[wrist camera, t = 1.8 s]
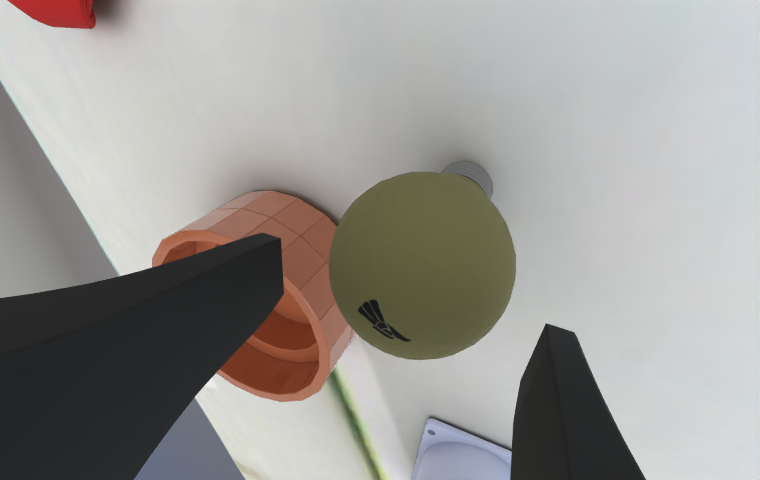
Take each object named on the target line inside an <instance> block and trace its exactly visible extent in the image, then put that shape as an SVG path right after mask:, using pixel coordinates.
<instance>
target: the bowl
mask: <svg viewBox="0 0 760 480" xmlns="http://www.w3.org/2000/svg"><path fill="white" fill-rule="evenodd" d="M336 228H337V226H336V225H335V224H334V223H333V222H332V221H331V220H330V219H329V218H328V217H327V215H325V214H324V213H322V212H321V211H319V210H317V209H316V208H314V207H312V206H311V205H309V204H308V203H306V202H304V201H303V200H301V199H299V198H297V197H293V196H290V195H286V194H283V193H279V192H276V191H257V192H247V193H244V194H242V195H241V196H239V197H237V198H235V199H233V200H232V201H230V202H228V203H226V204H224V205H223V206H221V207H219V208H217V209H216V210H214V211H212V212H210V213H209V214H207V215H205V216H203V217H202V218H200V219H198V220H196V221H195V222H193V223H191V224H189V225H188V226H186V227H184V228H182V229H181V230H179V231H177V232H175V233H174V234H172V235H170V236H168V237H167V238H165V239H163V240H162V241H161V243H160V245H159V247H158V248H157V250H156V252H155V254H154V256H153V259H152V267H156V266H159V265H162V264H165V263H169V262H172V261H175V260H179V259H182V258H185V257H188V256H191V255H194V254H197V253H200V252H203V251H206V250H209V249H212V248H215V247H218V246H221V245H224V244H227V243H230V242H233V241H236V240H239V239H242V238H245V237H248V236H251V235H255V234H259V233H266V234H269V235H273V236H276V237H279V238H281V249H282V265H283V282H284V295H283V296H282V298H281V299H280V301H279V302H278V303H277V305H276V306H275V308H274V309H273V311H272V312H271V313H270V315H269V316H268V317H267V319H266V320H265V321H264V322H263V324H262V325H261V326H260V327H259V328H258V329H257V330H256V331H255V332H254V333H253V334H252V336H251V337H250V338H249V339H248V340H247V341H246V342H245V343H244V344H243V345H242V346H241V347H240V348H239V349H238V350H237V351H236V352H235V354H234V355H233V356H232V357H231V358H230V359H229V360H228V361H227V362H226V363H225V364H224V365H223V366H222V367H221V368H220V369H219V370H218V371H217V372H216V373H217V374H218V375H220V376H221V377H223V378H224V379H226V380H227V381H229V382H230V383H231V384H233V385H235V386H236V387H239V388H241V389H243V390H245V391H247V392H249V393H252V394H254V395H256V396H259V397H262V398H267V399H271V400H275V401H280V402H287V401H302V400H304V399H306V398H308V397H310V396H312V395H313V394H315V393H317V392H319V391H320V390H321V388H322V387H323V385H324V384H325V382H326V380H327V379H328V377H329V376H330V374H331V373H332V371H333V370H334V368H335V366H336V365H337V363H338V362H339V360H340V359H341V357H342V356H343V354H344V352H345V351H346V349H347V348H348V346H349V345H350V343H351V342H352V340H353V338H354V337H355V335H356V334H357V333H356V332H355V331H354V330H353V329H352V328H351V327H350V325H349V324H348V323H347V322H346V320H345V319H344V317H343V315H342V314H341V312H340V310H339V308H338V306H337V303H336V301H335V298H334V296H333V293H332V290H331V285H330V279H329V252H330V248H331V244H332V240H333V237H334V233H335V230H336Z"/></svg>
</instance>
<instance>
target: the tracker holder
mask: <svg viewBox="0 0 760 480" xmlns="http://www.w3.org/2000/svg"><path fill="white" fill-rule="evenodd" d="M8 1H9V2H10V3H12V4H13V5H14V6H16V7H17V8H19V9H20V10H21V11H23V12H24V13H26V14H27V15H28V16H30V17H31V18H33V19H35V20H37V21H39V22H41V23H43V24H46V25H49V26H52V27H64V28H85V29H87V28H89V29H91V28H94V26H95V23H96V18H95V15H94V12H93V9H92V5H93V0H8Z"/></svg>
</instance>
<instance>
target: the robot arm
mask: <svg viewBox="0 0 760 480" xmlns="http://www.w3.org/2000/svg"><path fill="white" fill-rule="evenodd" d="M283 295H284V282H283V265H282V249H281V238H279V237H276V236H273V235H269V234H266V233H259V234H255V235H251V236H248V237H245V238H242V239H239V240H236V241H233V242H230V243H227V244H224V245H221V246H218V247H215V248H212V249H209V250H206V251H203V252H200V253H197V254H194V255H191V256H188V257H185V258H182V259H179V260H175V261H172V262H169V263H165V264H162V265H159V266H156V267H152V268H149V269H146V270H142V271H139V272H135V273H131V274H127V275H124V276H120V277H115V278H111V279H107V280H102V281H98V282H94V283H89V284H84V285H79V286H73V287H68V288H62V289H56V290H51V291H45V292H40V293H34V294H27V295H20V296H13V297H6V298H0V480H133V479H134V478H135V477H136V475H137V474H138V472H139V471H140V470H141V468H142V467H143V465H144V464H145V462H146V461H147V459H148V458H149V456H150V455H151V454H152V453H153V451H154V450H155V448H156V447H157V446H158V444H159V443H160V442H161V440H162V439H163V438H164V436H165V435H166V434H167V432H168V431H169V429H170V428H171V427H172V425H173V424H174V423H175V421H176V420H177V419H178V418H179V416H180V415H181V414H182V412H183V411H184V410H185V409H186V407H187V406H188V405H189V404H190V402H191V401H192V400H193V398H194V397H195V396H196V395H197V393H198V392H199V391H200V390H201V389H202V388H203V387H204V385H205V384H206V383H207V382H208V381H209V380H210V379H211V378H212V377H213V376H214V375H215V373H216V372H217V371H218V370H219V369H220V368H221V367H222V366H223V365H224V364H225V363H226V362H227V361H228V360H229V359H230V358H231V357H232V356H233V355H234V354H235V352H236V351H237V350H238V349H239V348H240V347H241V346H242V345H243V344H244V343H245V342H246V341H247V340H248V339H249V338H250V337H251V336H252V334H253V333H254V332H255V331H256V330H257V329H258V328H259V327H260V326H261V325H262V324H263V322H264V321H265V320H266V319H267V317H268V316H269V315H270V313H271V312H272V311H273V309H274V308H275V306H276V305H277V303H278V302H279V301H280V299H281V298H282V296H283ZM411 480H646V479H645V477H644V475H643V474H642V472H641V470H640V468H639V466H638V464H637V463H636V461H635V459H634V457H633V455H632V454H631V452H630V450H629V448H628V446H627V444H626V443H625V441H624V439H623V437H622V435H621V433H620V431H619V429H618V427H617V425H616V423H615V421H614V419H613V417H612V415H611V413H610V411H609V409H608V407H607V405H606V403H605V401H604V399H603V397H602V394H601V392H600V390H599V388H598V386H597V383H596V381H595V379H594V377H593V374H592V372H591V370H590V368H589V365H588V363H587V361H586V358H585V356H584V353H583V351H582V348H581V346H580V343H579V341H578V339H577V337H576V335H575V333H574V332H571V331H568V330H565V329H562V328H559V327H556V326H553V325H550V324H547V323H546V324H545V327H544V329H543V331H542V333H541V336H540V338H539V340H538V342H537V345H536V347H535V349H534V351H533V354H532V356H531V358H530V360H529V363H528V365H527V367H526V369H525V372H524V374H523V376H522V378H521V381H520V387H519V392H518V398H517V403H516V409H515V415H514V422H513V438H512V451H509V450H507V449H504V448H502V447H500V446H497V445H495V444H493V443H490V442H488V441H485V440H483V439H481V438H478V437H476V436H473V435H471V434H469V433H466V432H464V431H462V430H459V429H457V428H454V427H452V426H450V425H447V424H445V423H442V422H440V421H438V420H435V419H428V420H427V422H426V425H425V429H424V433H423V437H422V440H421V444H420V448H419V452H418V456H417V459H416V463H415V467H414V471H413V475H412V478H411Z"/></svg>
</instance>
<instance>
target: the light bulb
mask: <svg viewBox="0 0 760 480" xmlns="http://www.w3.org/2000/svg"><path fill="white" fill-rule="evenodd" d="M492 193H493V186H492V182H491V179H490V177H489V175H488V174H487V172H486V171H485V170H484V169H483V168H481V167H480V166H479V165H476V164H474V163H471V162H456V163H453V164H451V165H449V166H448V167H446V168H445V169H444V170H443V171H442V173H434V172H411V173H406V174H402V175H398V176H395V177H392V178H390V179H387V180H384V181H381V182H379V183H378V184H376V185H375V186H373V187H372V188H370V189H368V190H367V191H366V192H365V193H363V194H362V195H361V196H360V197H359V198H357V199H356V200H355V201H354V202H353V203H352V205H351V206H350V207H349V209H348V210H347V211H346V212H345V214H344V216H343V217H342V219H341V221H340V223H339V224H338V226H337V228H336V230H335V233H334V237H333V240H332V244H331V248H330V252H329V279H330V285H331V290H332V293H333V296H334V298H335V301H336V303H337V306H338V308H339V310H340V312H341V314H342V315H343V317H344V319H345V320H346V322H347V323H348V324H349V325H350V327H351V328H352V329H353V330H354V331H355V332H356V333H357V334H358V335H359V336H360V337H361V338H362V339H364V340H365V341H367V342H368V343H369V344H371V345H372V346H374V347H376V348H378V349H379V350H381V351H383V352H385V353H388V354H391V355H394V356H396V357H401V358H405V359H413V360H426V359H438V358H443V357H447V356H451V355H453V354H456V353H458V352H460V351H462V350H464V349H466V348H468V347H470V346H472V345H474V344H475V343H476V342H478V341H479V340H480V339H481V338H483V337H484V336H485V335H486V334H487V333H488V332H489V331H490V330H491V329H492V328H493V327H494V325H495V324H496V323H497V321H498V320H499V318H500V317H501V316H502V314H503V313H504V311H505V309H506V307H507V305H508V302H509V300H510V297H511V293H512V289H513V285H514V281H515V273H516V255H515V250H514V246H513V241H512V238H511V235H510V232H509V229H508V227H507V224H506V222H505V220H504V219H503V217H502V216H501V214H500V212H499V211H498V209H497V208H496V207H495V205H494V204H493V203H492V202H491V201H490V199H491V196H492Z"/></svg>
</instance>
